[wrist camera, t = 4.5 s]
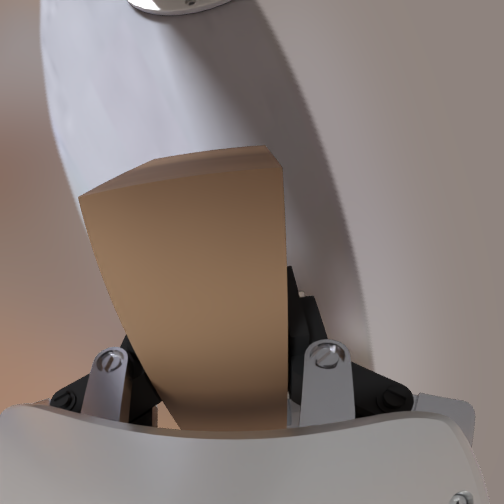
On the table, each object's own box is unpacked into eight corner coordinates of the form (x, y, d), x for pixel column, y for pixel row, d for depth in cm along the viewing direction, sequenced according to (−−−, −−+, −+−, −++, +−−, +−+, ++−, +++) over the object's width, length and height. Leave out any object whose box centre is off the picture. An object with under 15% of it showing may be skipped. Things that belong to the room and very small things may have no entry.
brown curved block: (153, 159, 9) (78, 196, 5) (265, 144, 9) (282, 167, 4) (208, 379, 14) (200, 455, 10) (278, 375, 14) (285, 454, 10)
